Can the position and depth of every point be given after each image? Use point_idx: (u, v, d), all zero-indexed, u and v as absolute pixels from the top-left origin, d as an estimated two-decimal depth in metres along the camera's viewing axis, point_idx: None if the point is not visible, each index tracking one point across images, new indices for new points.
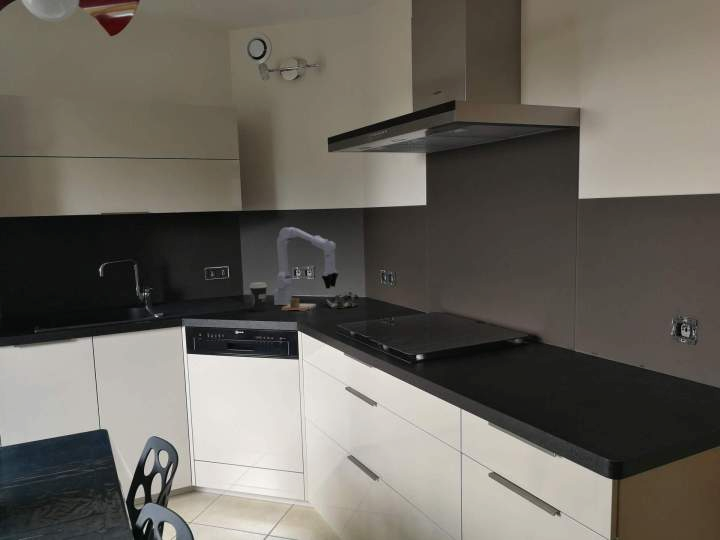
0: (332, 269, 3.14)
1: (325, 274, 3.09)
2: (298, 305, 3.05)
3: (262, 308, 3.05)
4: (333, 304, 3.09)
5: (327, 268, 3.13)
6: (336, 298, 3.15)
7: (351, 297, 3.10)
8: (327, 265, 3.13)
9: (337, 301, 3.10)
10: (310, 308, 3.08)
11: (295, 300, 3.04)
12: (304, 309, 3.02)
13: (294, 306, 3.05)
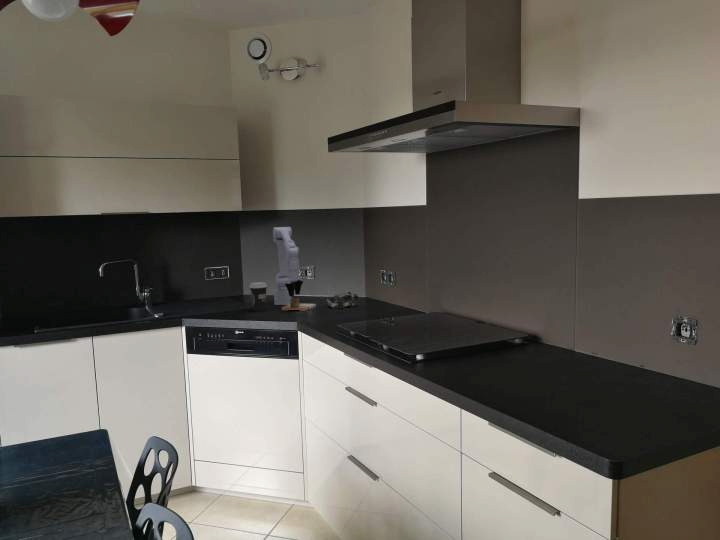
0: (296, 276, 3.02)
1: (288, 282, 2.98)
2: (298, 305, 3.05)
3: (262, 308, 3.05)
4: (333, 304, 3.10)
5: (291, 275, 3.02)
6: (335, 298, 3.16)
7: (351, 297, 3.11)
8: (291, 272, 3.01)
9: (337, 301, 3.10)
10: (310, 308, 3.08)
11: (295, 300, 3.04)
12: (304, 309, 3.02)
13: (294, 306, 3.05)
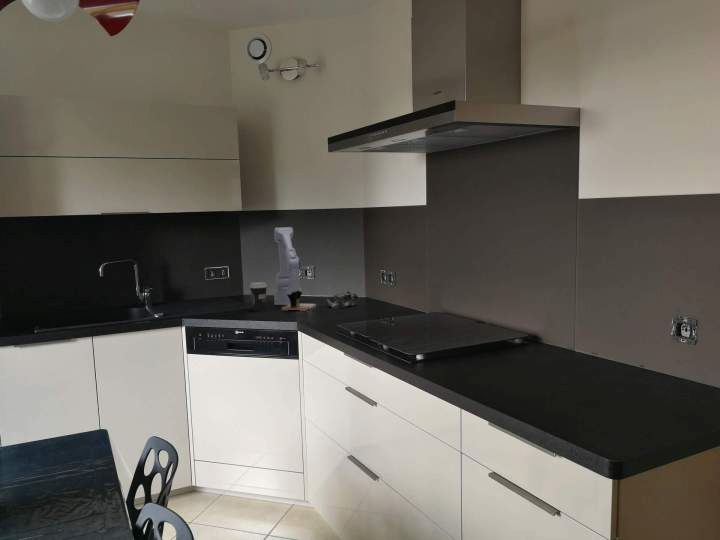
0: (296, 287, 3.03)
1: (288, 292, 2.98)
2: (298, 305, 3.05)
3: (262, 308, 3.05)
4: (333, 304, 3.10)
5: (291, 286, 3.02)
6: (335, 298, 3.16)
7: (351, 296, 3.13)
8: (291, 283, 3.02)
9: (337, 301, 3.11)
10: (310, 308, 3.08)
11: None
12: (304, 309, 3.02)
13: None
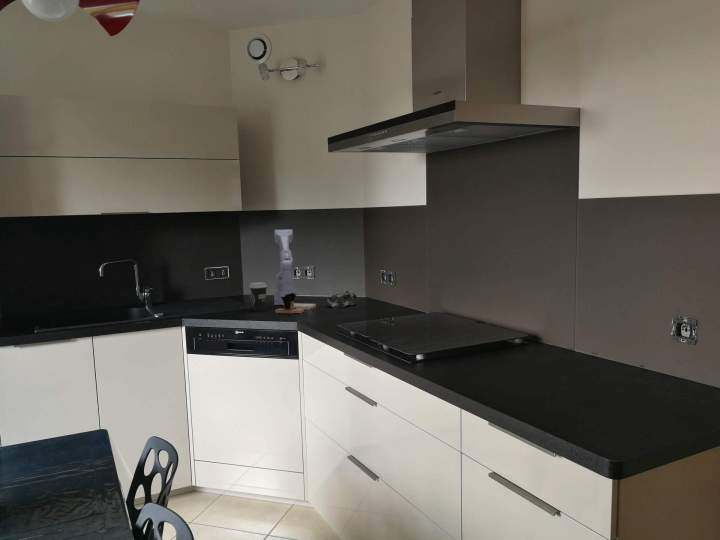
0: (290, 289, 2.95)
1: (282, 295, 2.91)
2: (292, 307, 2.98)
3: (262, 308, 3.05)
4: (334, 303, 3.11)
5: (285, 288, 2.95)
6: (333, 298, 3.17)
7: (350, 296, 3.14)
8: (285, 285, 2.95)
9: (337, 300, 3.12)
10: (310, 308, 3.08)
11: None
12: (298, 312, 2.95)
13: None
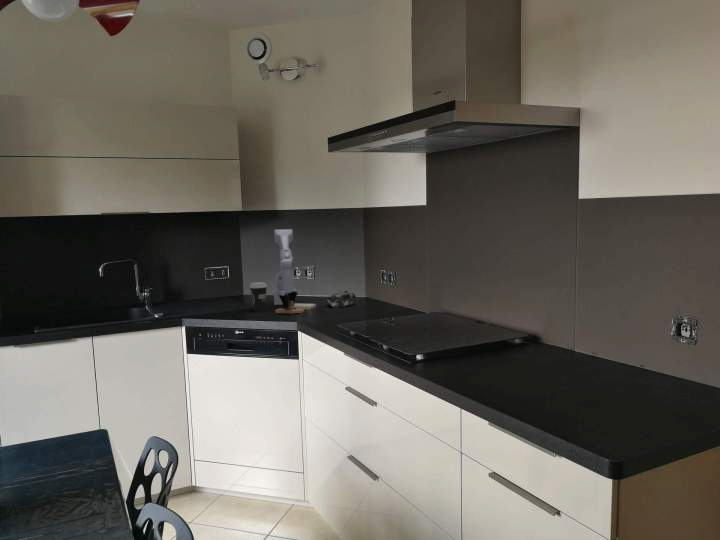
0: (290, 288, 2.95)
1: (282, 293, 2.91)
2: (292, 307, 2.98)
3: (262, 308, 3.05)
4: (333, 303, 3.11)
5: (285, 287, 2.95)
6: (333, 297, 3.18)
7: (350, 296, 3.15)
8: (285, 284, 2.95)
9: (337, 300, 3.12)
10: (310, 308, 3.08)
11: (289, 303, 2.97)
12: (298, 312, 2.95)
13: (288, 308, 2.97)
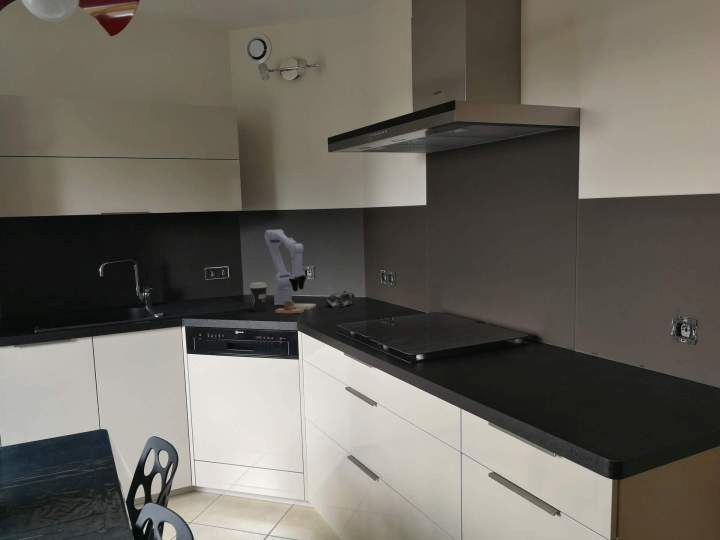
0: (299, 272, 3.11)
1: (292, 277, 3.07)
2: (292, 307, 2.98)
3: (262, 308, 3.05)
4: (333, 303, 3.12)
5: (294, 271, 3.11)
6: (332, 297, 3.18)
7: (349, 295, 3.16)
8: (294, 268, 3.11)
9: (337, 300, 3.13)
10: (310, 308, 3.08)
11: (289, 303, 2.97)
12: (298, 312, 2.95)
13: (288, 308, 2.97)
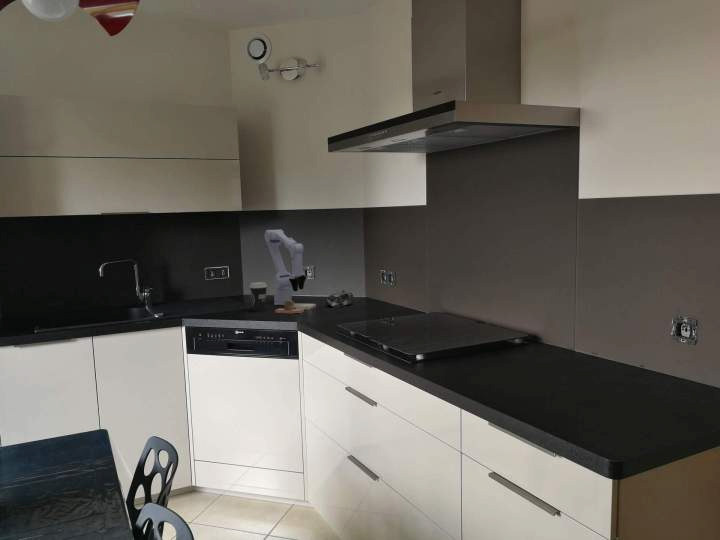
0: (299, 272, 3.11)
1: (292, 277, 3.07)
2: (292, 307, 2.98)
3: (262, 308, 3.05)
4: (333, 303, 3.12)
5: (294, 271, 3.11)
6: (331, 297, 3.18)
7: (348, 295, 3.17)
8: (294, 268, 3.11)
9: (336, 300, 3.13)
10: (310, 308, 3.08)
11: (289, 303, 2.97)
12: (298, 312, 2.95)
13: (288, 308, 2.97)
